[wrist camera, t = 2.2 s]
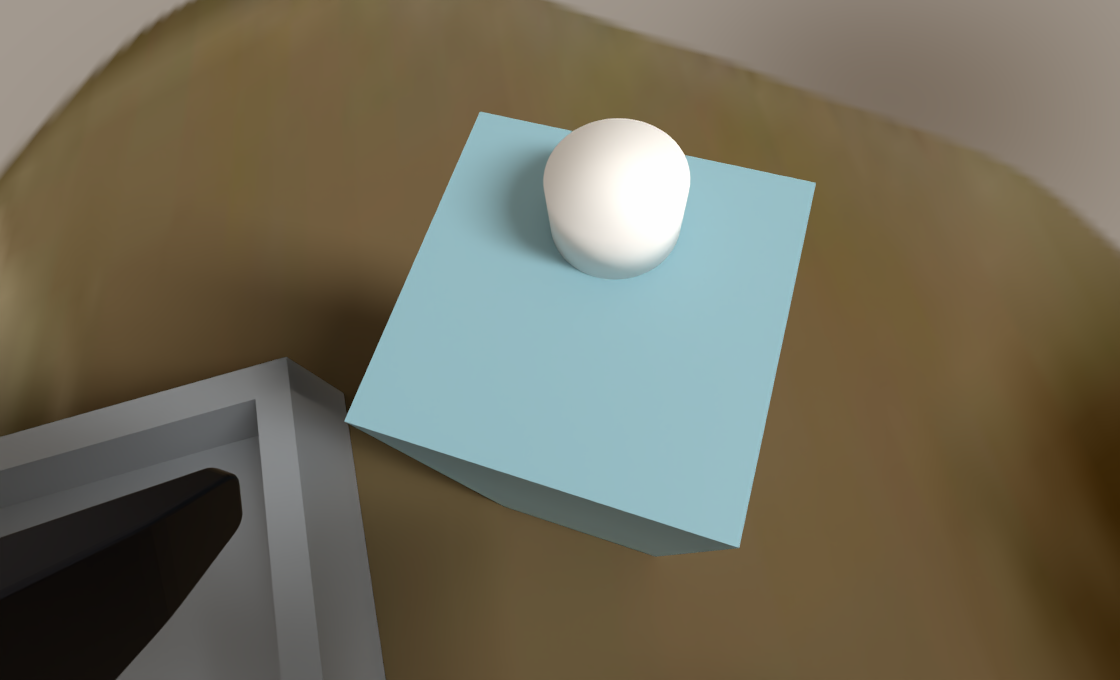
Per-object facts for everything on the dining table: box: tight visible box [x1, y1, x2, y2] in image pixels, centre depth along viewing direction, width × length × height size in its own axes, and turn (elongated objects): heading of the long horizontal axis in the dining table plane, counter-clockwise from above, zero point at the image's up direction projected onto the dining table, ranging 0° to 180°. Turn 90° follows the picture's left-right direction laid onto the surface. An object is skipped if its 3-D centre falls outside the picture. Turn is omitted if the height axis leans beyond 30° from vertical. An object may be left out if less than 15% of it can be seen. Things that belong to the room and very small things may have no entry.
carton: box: [344, 112, 816, 556], centre depth 13 cm, size 5×5×14 cm
